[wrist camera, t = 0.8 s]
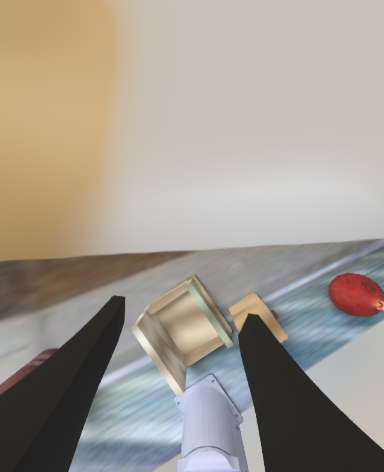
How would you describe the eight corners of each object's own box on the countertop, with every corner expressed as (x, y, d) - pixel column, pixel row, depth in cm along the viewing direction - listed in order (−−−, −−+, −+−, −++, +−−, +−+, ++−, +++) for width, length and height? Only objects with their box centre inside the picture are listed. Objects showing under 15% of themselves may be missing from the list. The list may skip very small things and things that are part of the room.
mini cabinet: (273, 314, 30) (292, 335, 24) (245, 332, 30) (257, 357, 24) (256, 289, 30) (271, 304, 24) (228, 308, 30) (236, 327, 24)
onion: (319, 266, 29) (364, 279, 21) (355, 270, 29) (414, 285, 21) (314, 301, 30) (357, 327, 22) (350, 305, 29) (406, 333, 21)
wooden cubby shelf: (231, 328, 30) (241, 357, 23) (182, 359, 31) (178, 398, 24) (194, 274, 30) (193, 287, 23) (146, 306, 30) (130, 329, 24)
